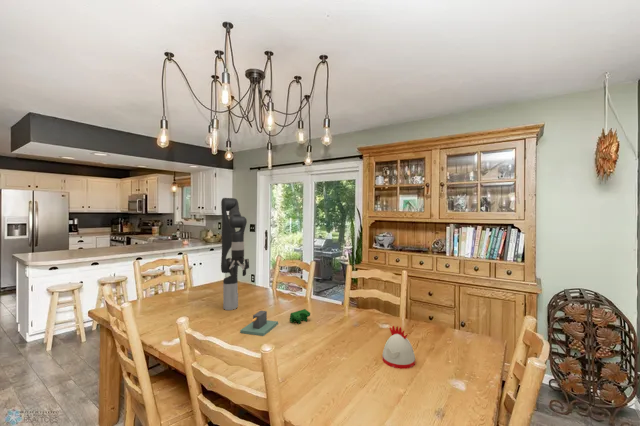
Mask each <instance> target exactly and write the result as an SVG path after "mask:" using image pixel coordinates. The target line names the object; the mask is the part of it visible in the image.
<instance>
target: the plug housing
mask: <svg viewBox="0 0 640 426" xmlns="http://www.w3.org/2000/svg"><path fill="white" fill-rule="evenodd" d="M267 316H268V311H267V310H259V311H258V312H256V313H255V314H253V315H252V320H251V321H252V322H253V328H255V329H260V328H261V327H263V326H264V325H265V324H267V320H268V317H267Z"/></svg>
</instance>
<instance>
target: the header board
mask: <svg viewBox="0 0 640 426" xmlns="http://www.w3.org/2000/svg"><path fill="white" fill-rule="evenodd" d="M278 324H279V321H278V320H277V321H275V320H268V319H267V324H265V325H264V326H263V327H261V328H260V329H255V328H253V321H252V322H250V323H248V324H247V325H245V326H244V327H243V328H242V329H241V328H240V330H239V332H240V333H239V334H246V335H253V336H260V337H265V335H266V336H267V334H268V333H270V331H272V330H273V329H274V328H276V326H278Z"/></svg>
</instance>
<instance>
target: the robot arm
mask: <svg viewBox="0 0 640 426" xmlns="http://www.w3.org/2000/svg"><path fill="white" fill-rule="evenodd" d="M220 207H221V210H220V211H221V259H220V261H221V262H220V271H221V273H223V274H229V276H227V277H225V278H223V281H222V282H223V283H222V284H223V288H222V289H223V291H222V292H223V293H222V296H223V300H222V301H223V304H222V305H223V308H222V309H223V310H224V309H225V311H234V310H236V308H237V307H238V308H239V293H238V292H239V291H238V287H239V286H238V285H239V284H238V282H239V281H238V272H239V271H238V270H239V267H240V268H242V276H243V277H245V276H246V275H247V270H248V269H250V260H249V258H245V240H244V238H245V230H246V227H247V223H248V222H247V221H248V220H247V217H245V216H243V215H241V213H240V205H239V200H238V199H237V198H233V197H222V199H221V202H220ZM227 212H228V213H227ZM236 229H239V230H238V231H236ZM230 249H231V252H230ZM229 252H230V253H231V254H230V256H231V257H228V258H227V255H228V253H229ZM238 308H237V309H238ZM233 309H234V310H233Z"/></svg>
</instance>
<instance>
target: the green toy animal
mask: <svg viewBox="0 0 640 426" xmlns="http://www.w3.org/2000/svg"><path fill="white" fill-rule="evenodd" d="M289 314H290V316H289V322H290V323H291V324H294V323H297V324H299V325H300V324H301V321H304V322H306V323H307V322H308V318H309V317H310V316H311V312H310V311H309V310H307V309H306V308H304V309H301V310H297V311H294V312H291V313H289Z"/></svg>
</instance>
